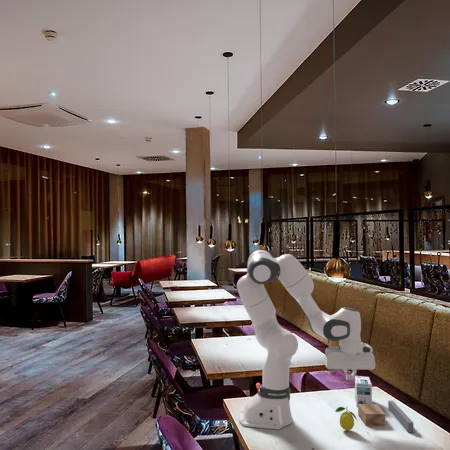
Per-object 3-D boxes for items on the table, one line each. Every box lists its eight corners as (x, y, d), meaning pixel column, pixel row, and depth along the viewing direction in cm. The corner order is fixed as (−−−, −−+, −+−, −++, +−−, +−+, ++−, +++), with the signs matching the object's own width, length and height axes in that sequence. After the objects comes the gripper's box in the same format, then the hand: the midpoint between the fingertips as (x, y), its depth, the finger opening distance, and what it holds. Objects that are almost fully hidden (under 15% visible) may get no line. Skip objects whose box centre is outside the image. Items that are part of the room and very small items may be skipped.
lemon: (335, 428, 178) (335, 403, 178) (347, 426, 180) (347, 401, 180) (345, 436, 171) (345, 410, 171) (357, 433, 173) (358, 408, 173)
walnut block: (365, 426, 180) (365, 414, 180) (358, 415, 190) (358, 404, 190) (385, 426, 180) (385, 414, 180) (376, 415, 190) (376, 404, 190)
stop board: (408, 432, 174) (408, 422, 174) (388, 409, 196) (388, 400, 196) (413, 432, 174) (413, 422, 174) (392, 409, 196) (392, 400, 196)
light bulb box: (372, 408, 197) (372, 384, 198) (356, 407, 199) (356, 383, 199) (369, 399, 208) (369, 376, 208) (354, 398, 209) (354, 375, 209)
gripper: (326, 348, 183) (326, 382, 183) (376, 348, 182) (376, 382, 182) (323, 344, 189) (323, 376, 189) (371, 344, 189) (371, 377, 189)
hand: (349, 379), depth 186 cm, fingers closed
